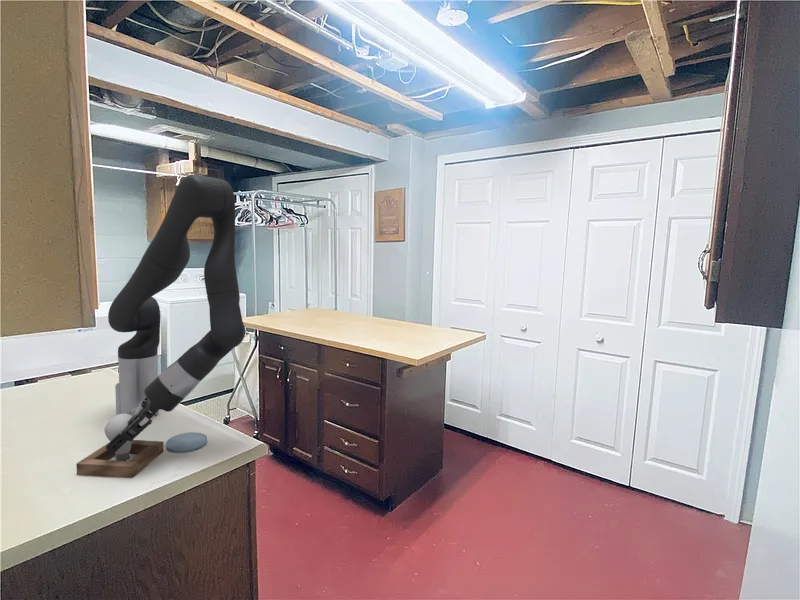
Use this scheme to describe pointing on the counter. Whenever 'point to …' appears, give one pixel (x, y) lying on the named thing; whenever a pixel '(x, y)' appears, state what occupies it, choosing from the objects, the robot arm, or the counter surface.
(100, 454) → the frame
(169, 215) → the robot arm
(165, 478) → the counter surface
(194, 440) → the pad
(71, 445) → the counter surface
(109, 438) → the lightbulb
